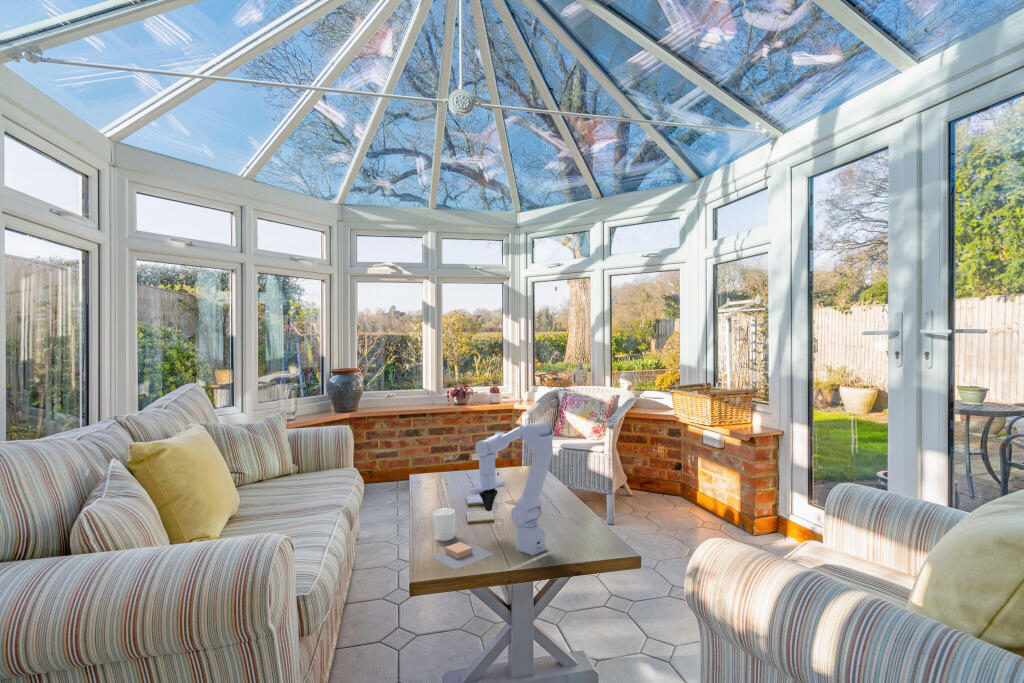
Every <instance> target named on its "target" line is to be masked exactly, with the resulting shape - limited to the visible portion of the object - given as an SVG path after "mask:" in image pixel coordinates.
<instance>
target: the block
mask: <svg viewBox="0 0 1024 683" xmlns="http://www.w3.org/2000/svg"><path fill="white" fill-rule="evenodd" d="M466 544H467V543H464V542H461V541H458V542H456V543H453V544H451V545H448V546H445V548H444V550H445V551H444V552H445V553H446V554H448V555H450V556H452V557H454V558H456V559H460V558H462V557H465V556H468V555H470V554H473V553H472V547H470V546H468V545H466Z"/></svg>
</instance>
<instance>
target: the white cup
mask: <svg viewBox="0 0 1024 683" xmlns="http://www.w3.org/2000/svg"><path fill="white" fill-rule="evenodd" d="M432 518H433V528H434V529H433V530H434V531H433V532H434V538H435V540H436V541H440V542H441V541H442V542H444V541H445V542H446V541H449V540H452V539H454V538H455V529H456V528H455V526H456V525H455V524H456V523H455V522H456V520H455V519H456V510H455V509H453V508H450V507H445V508H443V507H441V508H438V509H435V510H434V511H433V512H432Z"/></svg>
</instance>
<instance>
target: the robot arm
mask: <svg viewBox="0 0 1024 683" xmlns="http://www.w3.org/2000/svg"><path fill="white" fill-rule="evenodd" d="M554 436H555V430H554V429H553V427H552V425H551V423H550V422H548V421H547V420H541V421H538V422H534V423H532V422H531V423H526V424H524V425H519V426H517V427H516V428H514V429H512V430H510V431H508V432H506V433H505V432H501V431H496V432H495V433H494V435H492V436H487V437H486V439H484V440H478V441H477V442H476V444H475V450H474V451H475V452H476V455H477V456H478V462H479V463H478V465H479V466H478V467H479V468H478V470H479V471H478V472H479V484H478V485H477V486H474V487H471V488H470V490H469V491H470V493H469V494H470V495H471V496H472V495H473V496H475V495H477V494H479V496H480V498H481V500H482V503H483V506H484V509H485V511H487V512H492V510H493V506H494V501H495V500H496V497H497V494H498V490H497V489H499V488H505V485H506V484H505V483H506V482H505V481H504V480H498V481H496V459H497V453H498V452H501V451H502V450H504V449H507V448H508V447H509V446H510V443H511V442H514V441H516V440H518V439H520V440H523V442H524V444H526V446H527V448H529V449H530V451H531V452H532V453H533V454H534V458H532V459H533V460H532V464H531V466H530V470H529V473H528V477H527V480H526V483H525V486H524V489H523V494H522V496H521V497H520V498H519V499H518V500H517V501H516V502H515V506H513V508H512V509H511V511H510V518H511V521H512V523H514V526H515V531H516V550H517V551H518V552H521V553H525V554H528V555H530V556H535V555H537V554H539V553H542V552H544V551H546V539H545V538H546V536H545V531H544V529H543V528H542V527H541V526H539V524H538V522H539V519H540V518H541V516H542V513H543V512H542V505H543V501H542V500H541V499H540V497H541V493H542V489H543V487H544V483H545V481H546V478H547V474H548V470H549V468H550V463H551V460H552V457H553V454H554V450H553V449H554V448H553V447H554V446H553V439H554Z"/></svg>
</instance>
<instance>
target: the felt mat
mask: <svg viewBox="0 0 1024 683" xmlns="http://www.w3.org/2000/svg"><path fill="white" fill-rule="evenodd" d="M465 544H466V545H468V546H470V547H472V553H473V554H470V555H468V556H465V557H462V558H460V559H456V558H454V557H452V556H450V555H448V554H446V553H445V551H442V552H439V553H436V554H434V555H431V556H430V558H432V559H433V560H435V561H438V562H440V563H441V564H443V565H445V566H447V567H449V568H451V569H452V570H454V571H455V570H459V569H462V568H463V567H465V566H469V565H471V564H474V563H475V562H479V561H481V560H482V561H483V560H484V559H486V558H490V557H491V556H494V555H495V553H493V552H491V551H489V550H486V549H484V548H482V547H480V546H478V545H476V544H473V543H471V542H468V543H465Z"/></svg>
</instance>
